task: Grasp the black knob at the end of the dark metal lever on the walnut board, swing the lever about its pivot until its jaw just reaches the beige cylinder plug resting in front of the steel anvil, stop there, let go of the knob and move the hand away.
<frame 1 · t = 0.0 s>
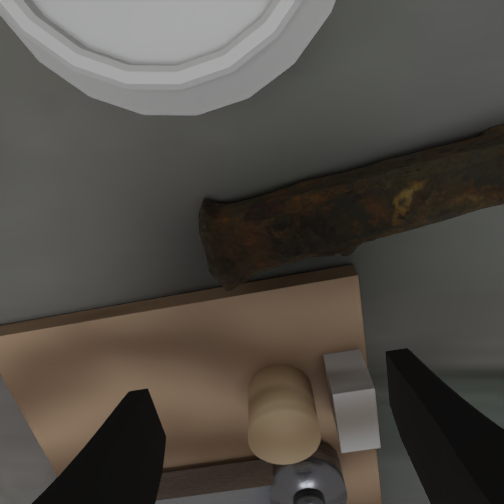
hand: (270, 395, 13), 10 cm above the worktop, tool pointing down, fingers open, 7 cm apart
beige cylinder plug: (280, 390, 24), point 1 cm above the worktop, touching board
hand tool: (393, 167, 21), on the worktop
board: (211, 436, 27), on the worktop
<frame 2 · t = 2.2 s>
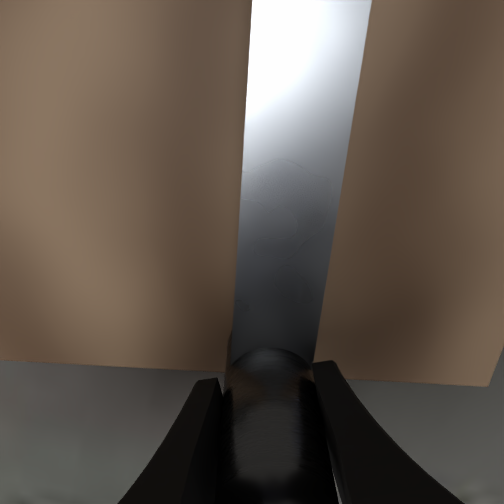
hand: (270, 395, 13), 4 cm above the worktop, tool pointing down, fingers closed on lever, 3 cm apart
lever: (300, 151, 9), point 4 cm above the worktop, hinge at 0.0°, touching gripper
board: (223, 79, 13), on the worktop
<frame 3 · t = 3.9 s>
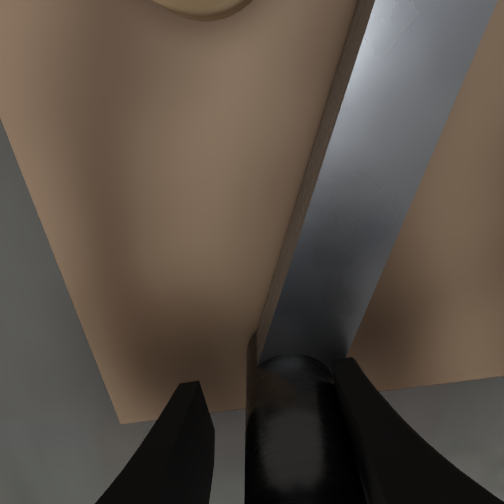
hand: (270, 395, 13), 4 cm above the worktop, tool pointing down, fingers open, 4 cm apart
lever: (389, 171, 9), point 4 cm above the worktop, hinge at 23.5°, touching gripper
board: (366, 115, 13), on the worktop
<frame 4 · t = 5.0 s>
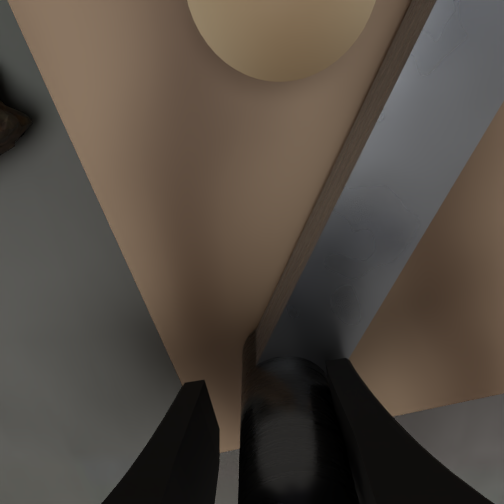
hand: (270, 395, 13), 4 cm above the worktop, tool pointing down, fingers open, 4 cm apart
lever: (419, 187, 10), point 4 cm above the worktop, hinge at 37.4°, touching gripper
board: (434, 138, 14), on the worktop
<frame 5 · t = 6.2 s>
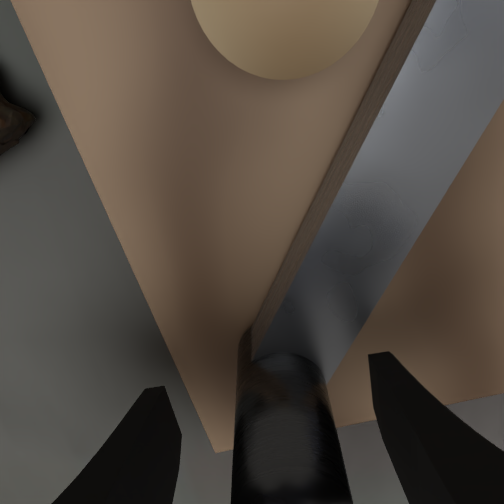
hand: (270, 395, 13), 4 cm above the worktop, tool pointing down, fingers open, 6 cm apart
lever: (418, 183, 10), point 4 cm above the worktop, hinge at 38.4°
board: (436, 137, 14), on the worktop
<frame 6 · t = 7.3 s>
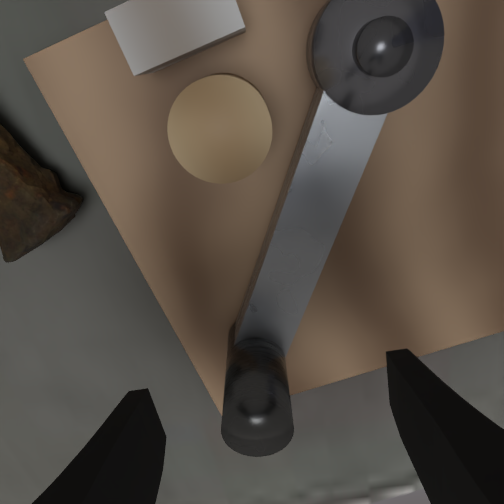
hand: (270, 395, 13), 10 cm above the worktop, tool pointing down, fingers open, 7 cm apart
beige cylinder plug: (225, 119, 18), point 1 cm above the worktop, touching board
lever: (314, 230, 16), point 4 cm above the worktop, hinge at 38.4°
board: (345, 186, 20), on the worktop
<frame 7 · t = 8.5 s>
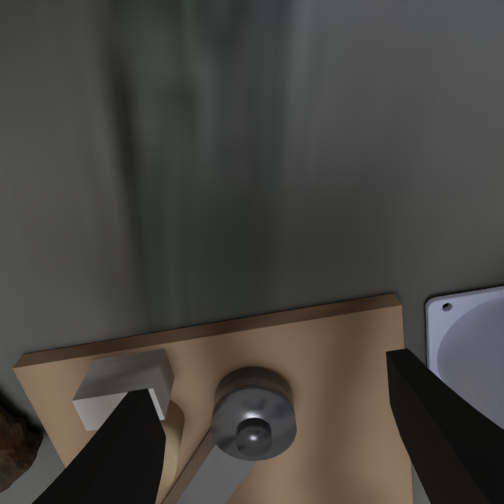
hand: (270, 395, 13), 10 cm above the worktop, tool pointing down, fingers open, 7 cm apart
beige cylinder plug: (153, 418, 25), point 1 cm above the worktop, touching board
board: (239, 452, 28), on the worktop
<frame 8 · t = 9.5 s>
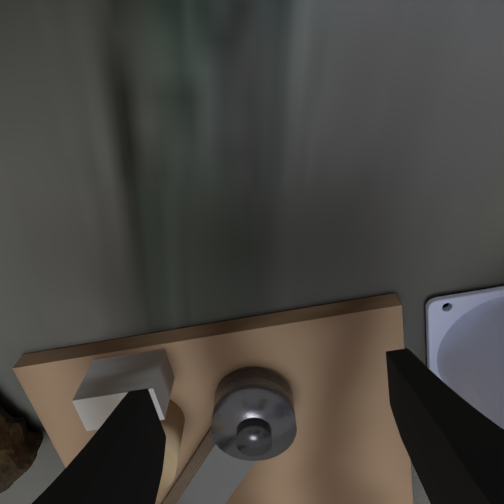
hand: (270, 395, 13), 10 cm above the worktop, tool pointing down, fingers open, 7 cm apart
beige cylinder plug: (153, 418, 25), point 1 cm above the worktop, touching board
board: (239, 452, 28), on the worktop
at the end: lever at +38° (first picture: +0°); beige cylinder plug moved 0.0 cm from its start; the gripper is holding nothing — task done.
